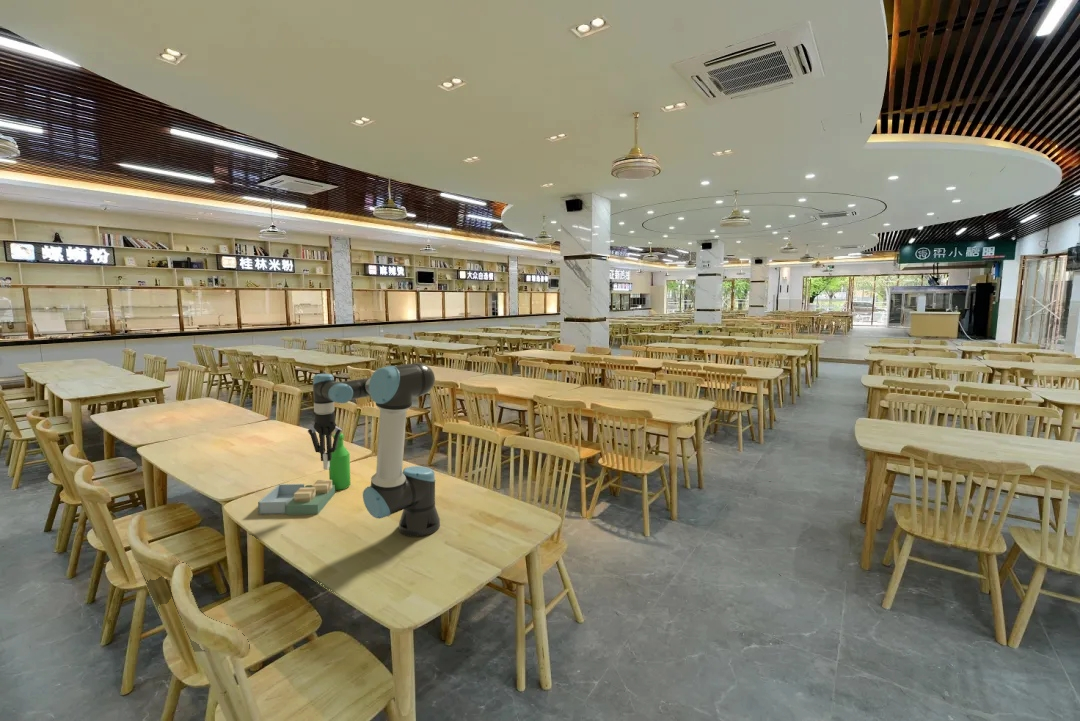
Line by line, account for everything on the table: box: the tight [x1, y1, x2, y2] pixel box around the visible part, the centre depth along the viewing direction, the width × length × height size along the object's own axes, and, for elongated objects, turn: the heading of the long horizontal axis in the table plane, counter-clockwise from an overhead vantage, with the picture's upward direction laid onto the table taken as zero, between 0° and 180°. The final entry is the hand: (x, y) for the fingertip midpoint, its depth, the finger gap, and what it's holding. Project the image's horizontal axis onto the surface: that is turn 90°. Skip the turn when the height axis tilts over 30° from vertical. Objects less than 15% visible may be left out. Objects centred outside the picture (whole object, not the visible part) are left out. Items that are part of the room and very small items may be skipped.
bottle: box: [328, 433, 351, 491], centre depth 210 cm, size 9×9×25 cm
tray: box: [257, 483, 305, 515], centre depth 192 cm, size 18×10×5 cm, turn 6°
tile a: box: [294, 487, 316, 502], centre depth 189 cm, size 6×6×4 cm
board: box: [286, 484, 336, 516], centre depth 194 cm, size 20×12×4 cm, turn 6°
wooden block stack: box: [311, 479, 332, 493], centre depth 197 cm, size 6×6×4 cm
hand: (326, 468), depth 189 cm, fingers closed
